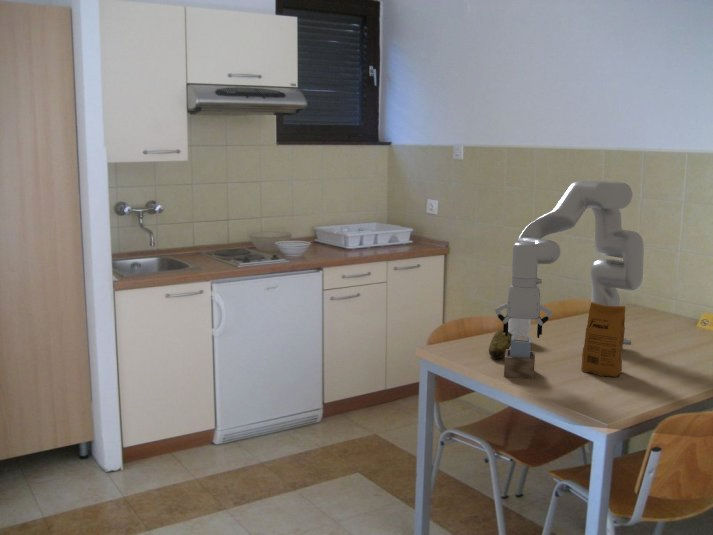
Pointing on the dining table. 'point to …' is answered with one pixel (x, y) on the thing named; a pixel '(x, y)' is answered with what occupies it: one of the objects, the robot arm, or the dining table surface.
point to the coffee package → (604, 340)
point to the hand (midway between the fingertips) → (522, 335)
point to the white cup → (519, 327)
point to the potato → (499, 344)
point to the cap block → (520, 347)
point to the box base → (519, 366)
